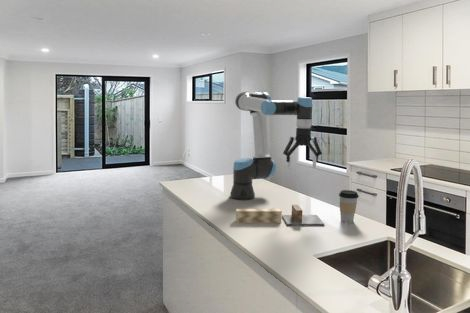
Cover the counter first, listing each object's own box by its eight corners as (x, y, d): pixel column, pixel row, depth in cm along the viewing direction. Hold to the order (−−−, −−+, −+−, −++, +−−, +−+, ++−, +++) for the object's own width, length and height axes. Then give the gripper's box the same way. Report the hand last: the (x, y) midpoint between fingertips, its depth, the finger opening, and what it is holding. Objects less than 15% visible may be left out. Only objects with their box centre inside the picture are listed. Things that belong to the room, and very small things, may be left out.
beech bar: (236, 223, 184) (236, 211, 183) (235, 220, 188) (236, 208, 187) (281, 223, 185) (281, 211, 184) (279, 220, 189) (280, 208, 188)
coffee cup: (341, 217, 195) (342, 188, 193) (359, 220, 190) (361, 191, 188) (334, 221, 187) (336, 192, 185) (353, 225, 182) (355, 195, 180)
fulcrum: (287, 225, 180) (287, 211, 179) (281, 216, 194) (282, 203, 193) (324, 225, 181) (325, 211, 180) (316, 216, 195) (317, 203, 194)
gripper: (282, 128, 189) (281, 169, 192) (329, 128, 193) (327, 169, 196) (278, 126, 196) (276, 167, 199) (323, 127, 200) (321, 166, 204)
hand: (301, 168), depth 198 cm, fingers open, 13 cm apart
